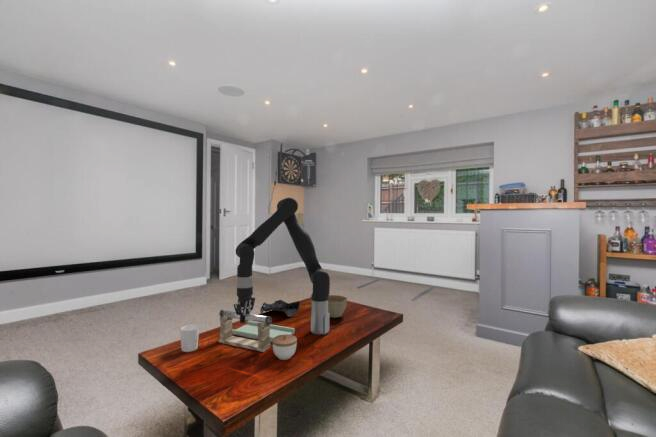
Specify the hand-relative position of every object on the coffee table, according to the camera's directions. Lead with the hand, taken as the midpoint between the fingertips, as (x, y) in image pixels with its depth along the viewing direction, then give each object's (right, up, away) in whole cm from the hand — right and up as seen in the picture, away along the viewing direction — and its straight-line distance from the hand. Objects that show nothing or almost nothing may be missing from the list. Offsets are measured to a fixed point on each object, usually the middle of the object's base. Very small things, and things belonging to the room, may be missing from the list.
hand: (244, 321), depth 143 cm
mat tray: (+5, -11, +14) cm, 19 cm away
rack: (0, -11, 0) cm, 11 cm away
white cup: (-24, -11, -5) cm, 27 cm away
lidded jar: (+21, -12, -12) cm, 27 cm away
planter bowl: (+44, -12, +43) cm, 63 cm away
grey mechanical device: (+9, -12, +44) cm, 47 cm away
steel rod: (0, +2, 0) cm, 2 cm away
